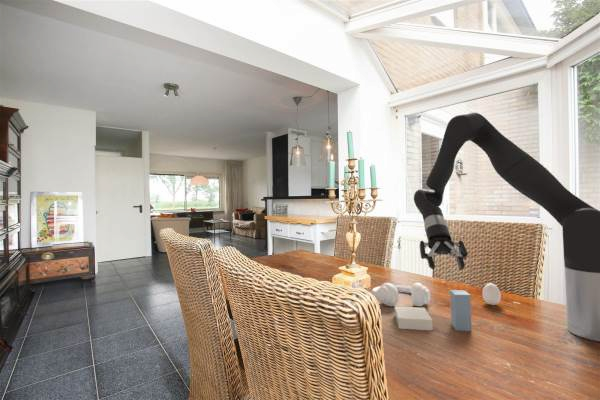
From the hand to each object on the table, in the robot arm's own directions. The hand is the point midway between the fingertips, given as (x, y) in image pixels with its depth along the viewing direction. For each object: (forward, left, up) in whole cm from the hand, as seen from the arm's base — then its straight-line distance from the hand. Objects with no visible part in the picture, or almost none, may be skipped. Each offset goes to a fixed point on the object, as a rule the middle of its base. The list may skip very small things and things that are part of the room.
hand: (447, 268), depth 90 cm
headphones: (+10, -14, -15) cm, 23 cm away
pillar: (+3, +11, -14) cm, 18 cm away
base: (+15, +6, -14) cm, 22 cm away
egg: (-18, -3, -14) cm, 23 cm away
